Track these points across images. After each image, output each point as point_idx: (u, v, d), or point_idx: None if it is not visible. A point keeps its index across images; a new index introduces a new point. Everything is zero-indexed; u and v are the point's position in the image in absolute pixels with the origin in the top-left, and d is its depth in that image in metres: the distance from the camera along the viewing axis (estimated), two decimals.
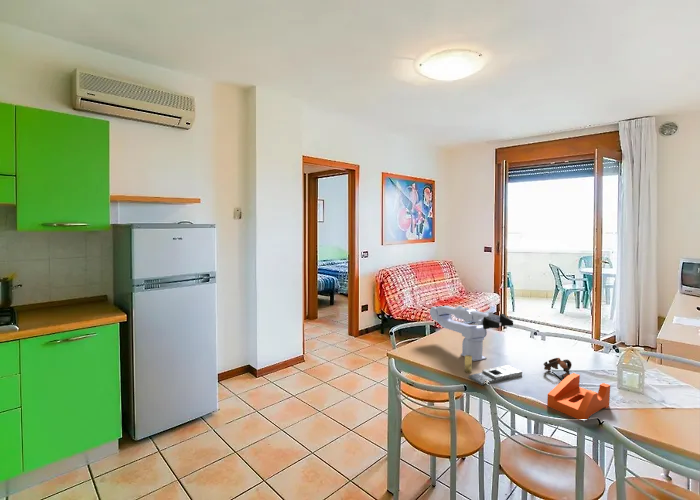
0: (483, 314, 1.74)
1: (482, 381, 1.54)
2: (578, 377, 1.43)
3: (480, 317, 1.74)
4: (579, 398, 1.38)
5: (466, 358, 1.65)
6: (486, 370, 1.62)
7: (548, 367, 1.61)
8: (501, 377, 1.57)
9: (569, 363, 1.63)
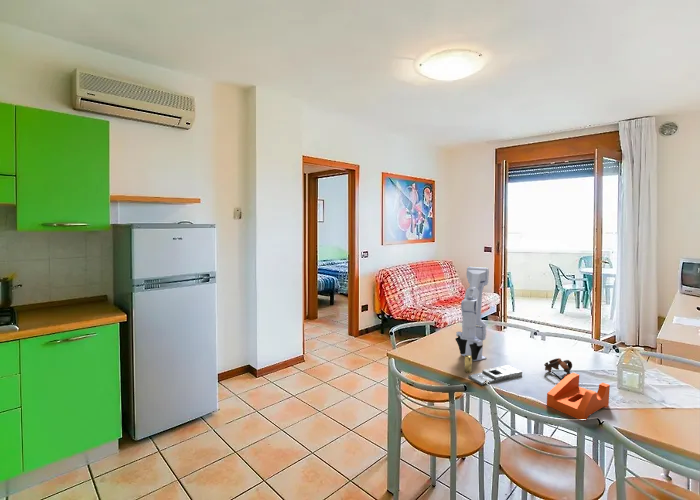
0: (462, 329, 1.65)
1: (482, 381, 1.54)
2: (578, 377, 1.43)
3: None
4: (578, 398, 1.38)
5: (466, 358, 1.65)
6: (486, 370, 1.62)
7: (549, 368, 1.60)
8: (501, 377, 1.57)
9: (570, 363, 1.62)
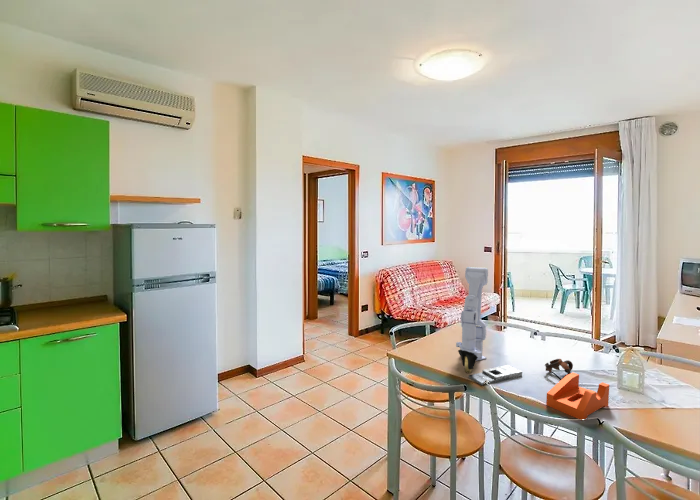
0: (462, 340, 1.65)
1: (482, 381, 1.54)
2: (577, 376, 1.43)
3: None
4: (578, 397, 1.38)
5: (466, 358, 1.65)
6: (486, 370, 1.62)
7: (549, 368, 1.60)
8: (501, 377, 1.57)
9: (570, 364, 1.62)
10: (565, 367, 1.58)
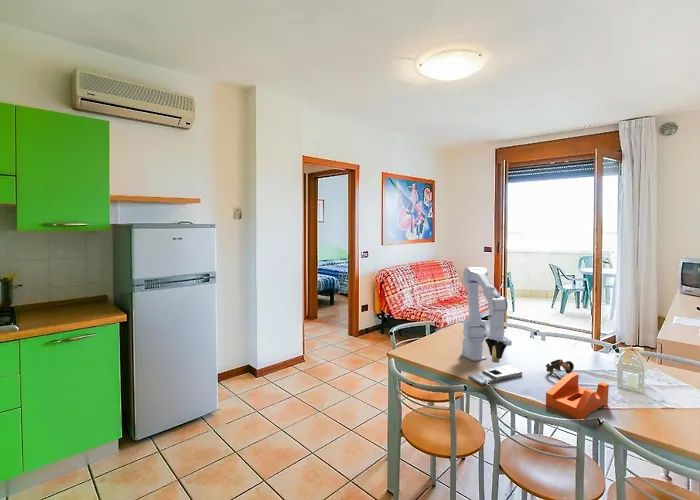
0: None
1: (482, 381, 1.54)
2: (577, 376, 1.44)
3: None
4: (578, 397, 1.39)
5: (494, 347, 1.58)
6: (486, 370, 1.62)
7: (551, 369, 1.59)
8: (501, 377, 1.57)
9: (571, 365, 1.61)
10: (566, 368, 1.57)
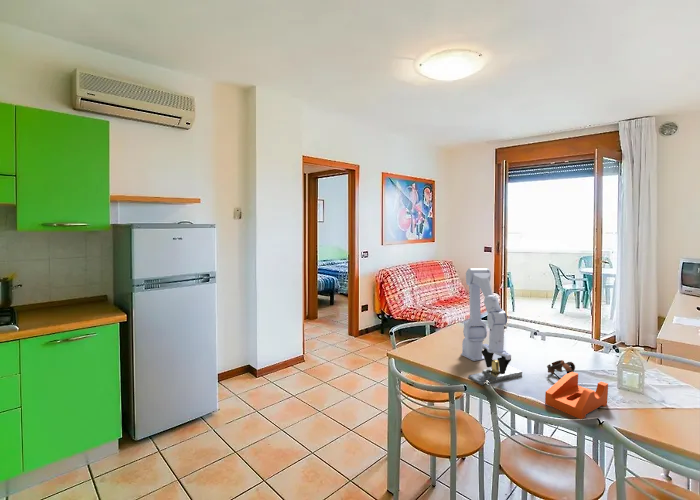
0: (489, 342, 1.60)
1: (482, 381, 1.54)
2: (576, 376, 1.44)
3: None
4: (577, 396, 1.39)
5: (493, 363, 1.59)
6: (486, 370, 1.62)
7: (552, 370, 1.58)
8: (501, 377, 1.57)
9: (573, 365, 1.60)
10: (568, 369, 1.56)
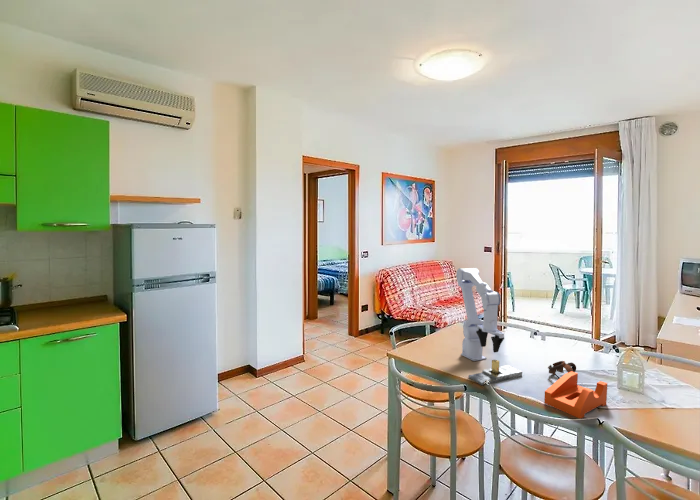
0: (483, 322, 1.67)
1: (482, 381, 1.54)
2: (576, 375, 1.44)
3: None
4: (576, 396, 1.40)
5: (493, 363, 1.59)
6: (486, 370, 1.62)
7: (553, 371, 1.57)
8: (501, 377, 1.57)
9: (574, 366, 1.60)
10: (569, 369, 1.55)
